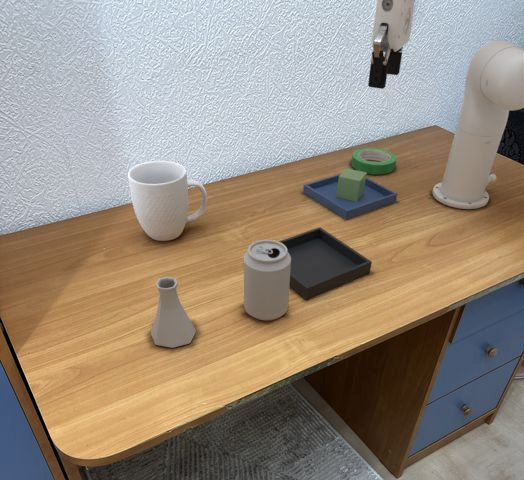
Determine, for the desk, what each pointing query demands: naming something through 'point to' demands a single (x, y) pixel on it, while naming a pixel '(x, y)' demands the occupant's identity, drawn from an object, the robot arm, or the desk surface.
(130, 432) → the desk surface
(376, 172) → the tape roll
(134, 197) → the mug
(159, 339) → the flask
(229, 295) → the desk surface
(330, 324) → the desk surface
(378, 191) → the tray
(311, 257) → the black shallow box
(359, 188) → the block
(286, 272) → the can
